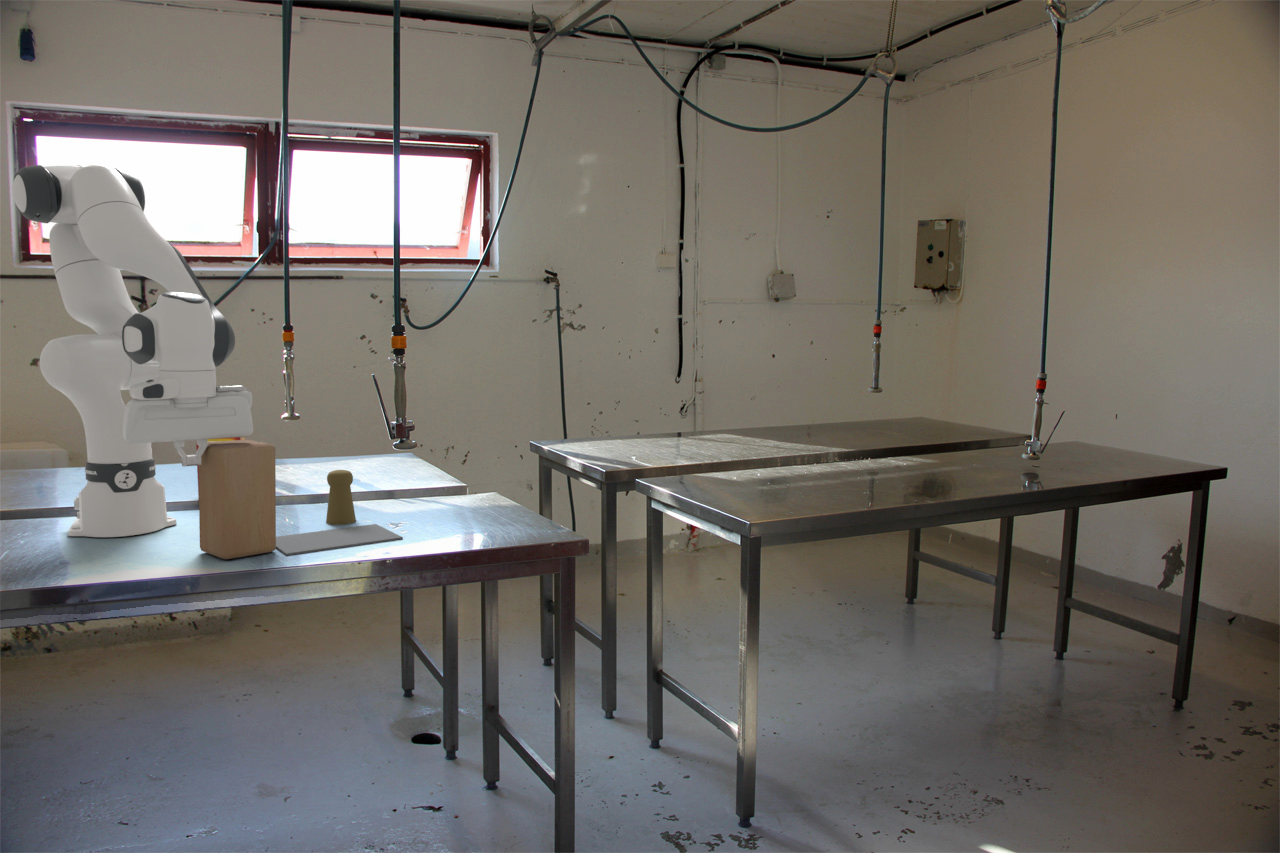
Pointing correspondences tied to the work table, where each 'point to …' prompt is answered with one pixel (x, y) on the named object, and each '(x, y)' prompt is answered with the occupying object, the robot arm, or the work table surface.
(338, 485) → the cork
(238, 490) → the wooden block
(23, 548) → the work table surface
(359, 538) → the mat
